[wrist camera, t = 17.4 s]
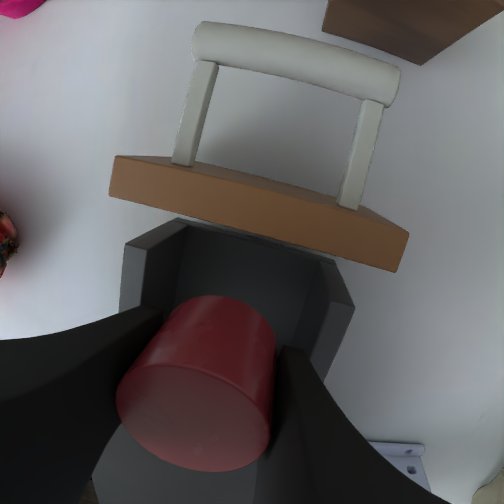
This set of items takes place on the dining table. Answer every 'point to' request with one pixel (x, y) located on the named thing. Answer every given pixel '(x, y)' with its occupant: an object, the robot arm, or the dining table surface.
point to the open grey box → (163, 478)
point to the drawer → (261, 202)
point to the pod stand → (408, 23)
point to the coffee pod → (204, 386)
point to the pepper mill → (18, 7)
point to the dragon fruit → (6, 240)
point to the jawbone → (491, 491)
